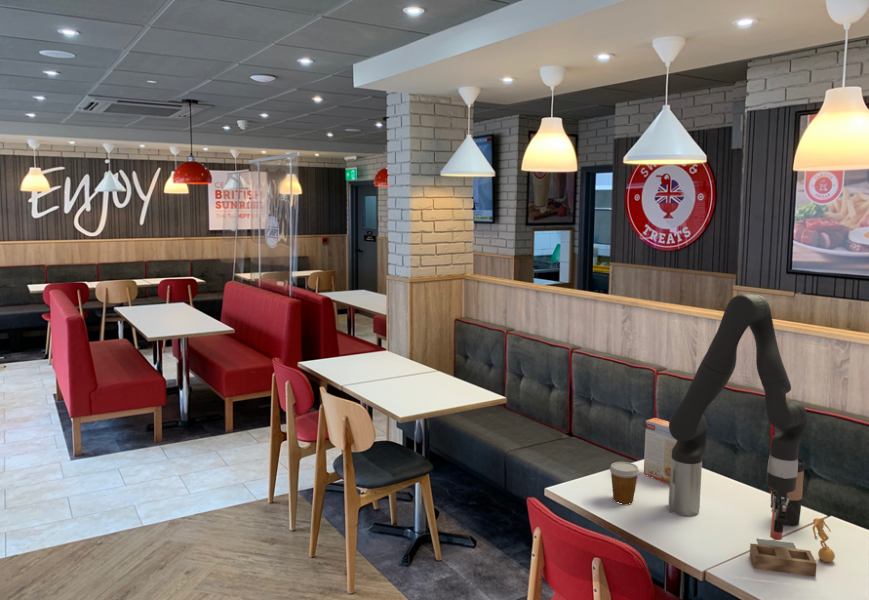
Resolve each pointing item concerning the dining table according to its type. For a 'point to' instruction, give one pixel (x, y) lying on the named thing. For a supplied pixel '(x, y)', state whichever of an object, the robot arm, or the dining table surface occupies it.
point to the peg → (773, 534)
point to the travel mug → (795, 498)
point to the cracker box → (658, 450)
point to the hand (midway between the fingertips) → (776, 528)
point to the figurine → (823, 541)
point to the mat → (776, 543)
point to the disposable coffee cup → (623, 481)
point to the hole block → (783, 559)
